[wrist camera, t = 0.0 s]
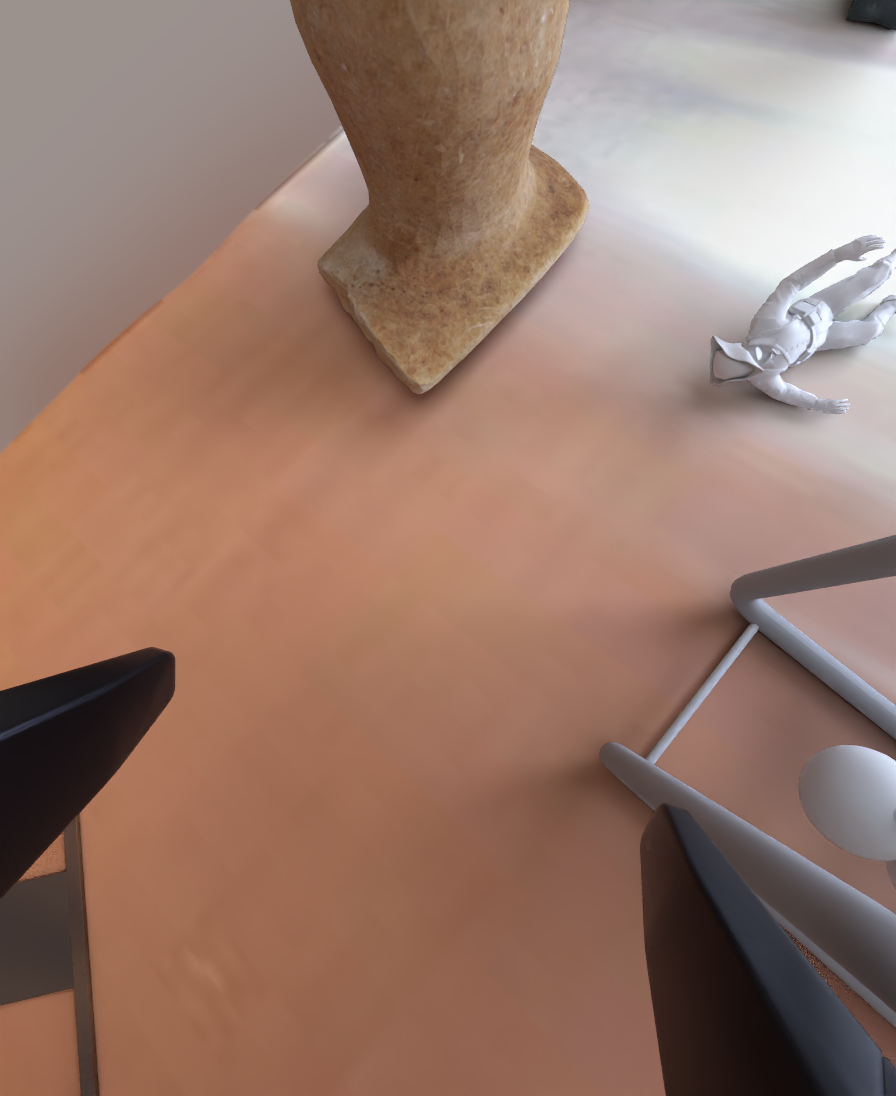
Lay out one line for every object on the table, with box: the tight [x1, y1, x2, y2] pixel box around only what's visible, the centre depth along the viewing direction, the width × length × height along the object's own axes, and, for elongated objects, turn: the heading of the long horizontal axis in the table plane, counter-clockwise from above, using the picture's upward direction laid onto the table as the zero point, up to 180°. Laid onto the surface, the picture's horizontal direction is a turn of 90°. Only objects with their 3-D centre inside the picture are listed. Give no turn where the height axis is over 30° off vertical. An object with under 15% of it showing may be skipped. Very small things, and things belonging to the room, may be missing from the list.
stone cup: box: [290, 0, 589, 394], centre depth 21 cm, size 15×12×15 cm
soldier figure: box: [710, 235, 896, 414], centre depth 24 cm, size 8×5×12 cm
